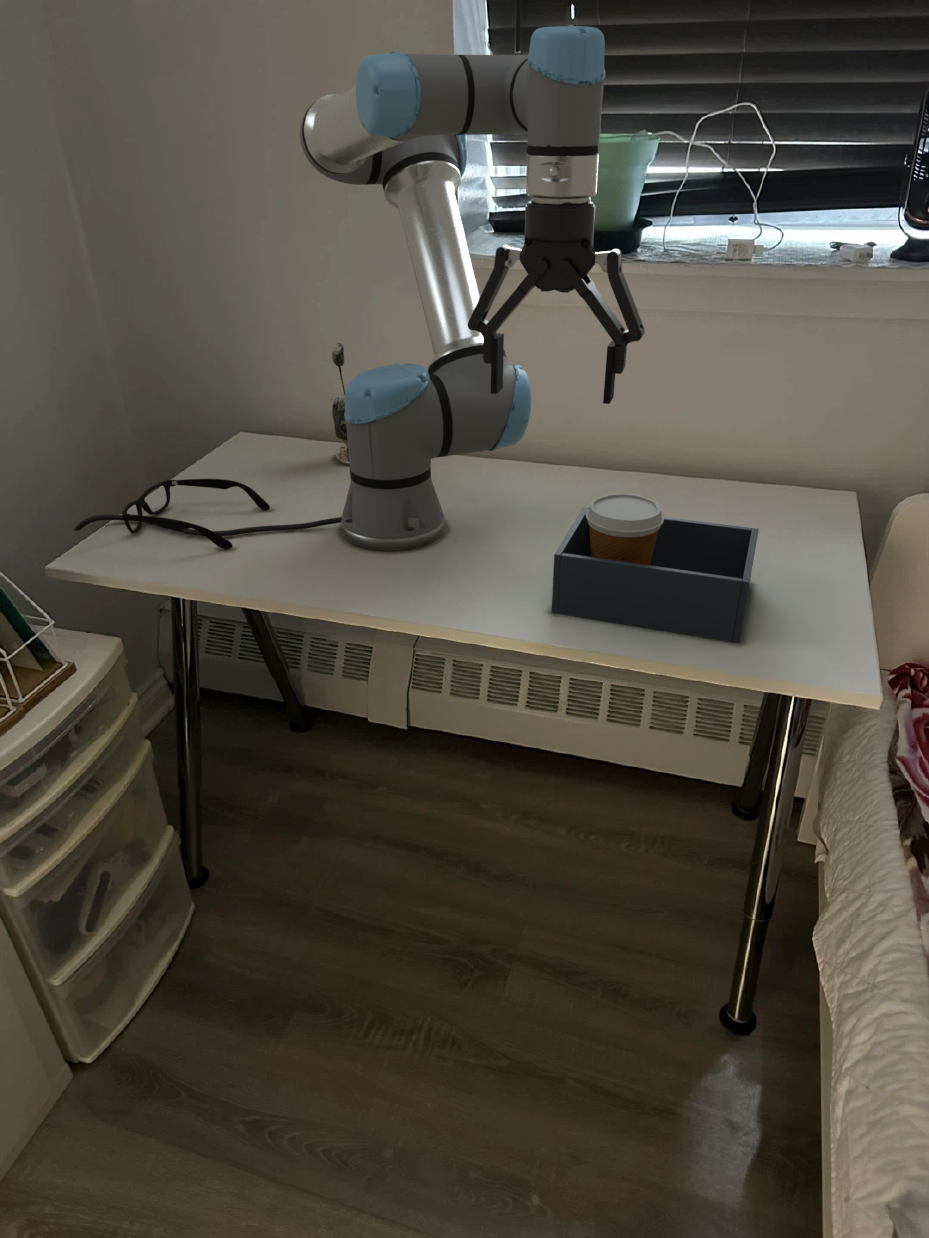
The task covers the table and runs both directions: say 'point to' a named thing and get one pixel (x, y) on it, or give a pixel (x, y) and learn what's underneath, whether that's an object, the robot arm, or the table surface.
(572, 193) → the robot arm
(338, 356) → the plant with pod
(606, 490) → the table surface
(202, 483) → the glasses
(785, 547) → the table surface
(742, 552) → the bin
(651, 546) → the disposable coffee cup
